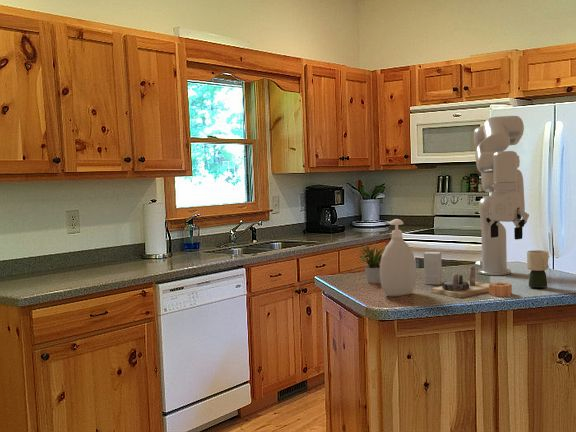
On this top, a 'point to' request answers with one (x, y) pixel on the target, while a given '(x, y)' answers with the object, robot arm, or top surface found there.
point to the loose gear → (500, 289)
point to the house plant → (372, 264)
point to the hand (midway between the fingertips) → (506, 238)
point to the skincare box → (432, 268)
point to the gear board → (463, 293)
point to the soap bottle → (397, 265)
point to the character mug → (537, 267)
